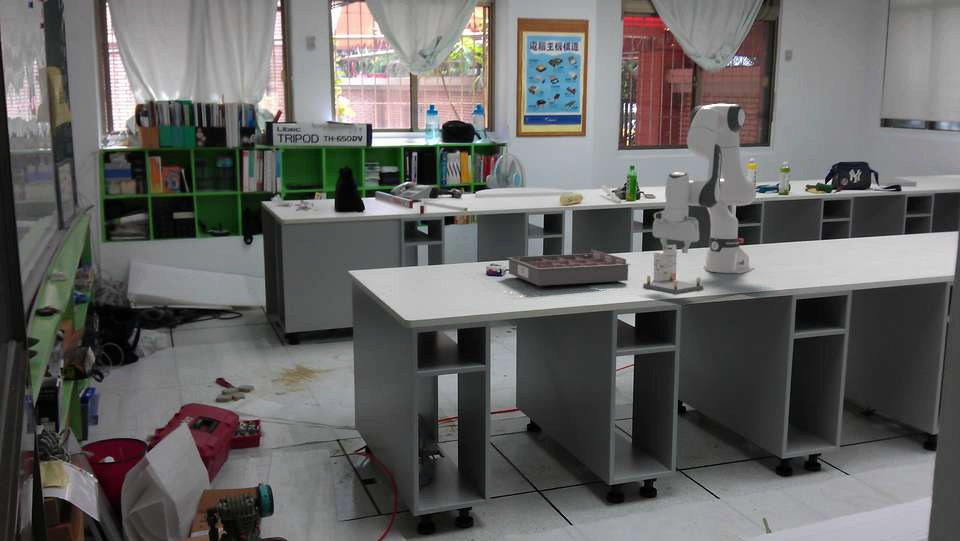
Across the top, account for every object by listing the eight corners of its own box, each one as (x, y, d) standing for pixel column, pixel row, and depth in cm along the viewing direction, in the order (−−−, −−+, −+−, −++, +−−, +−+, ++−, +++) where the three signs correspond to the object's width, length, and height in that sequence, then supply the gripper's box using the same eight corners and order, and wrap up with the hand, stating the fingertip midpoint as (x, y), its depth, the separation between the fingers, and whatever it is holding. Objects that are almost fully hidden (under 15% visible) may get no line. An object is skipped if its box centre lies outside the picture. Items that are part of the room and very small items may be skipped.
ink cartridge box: (666, 278, 365) (667, 242, 362) (676, 280, 361) (677, 244, 358) (652, 280, 359) (654, 244, 357) (662, 282, 355) (663, 245, 353)
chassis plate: (670, 283, 353) (671, 272, 353) (703, 289, 341) (703, 277, 340) (643, 287, 344) (643, 275, 343) (675, 293, 331) (676, 281, 330)
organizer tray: (506, 276, 368) (506, 252, 366) (593, 271, 381) (593, 248, 380) (537, 289, 338) (537, 263, 337) (630, 284, 352) (631, 259, 350)
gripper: (703, 217, 332) (702, 253, 334) (661, 212, 348) (660, 247, 350) (692, 218, 328) (691, 255, 330) (650, 213, 344) (649, 249, 346)
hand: (675, 251), depth 340 cm, fingers open, 8 cm apart
